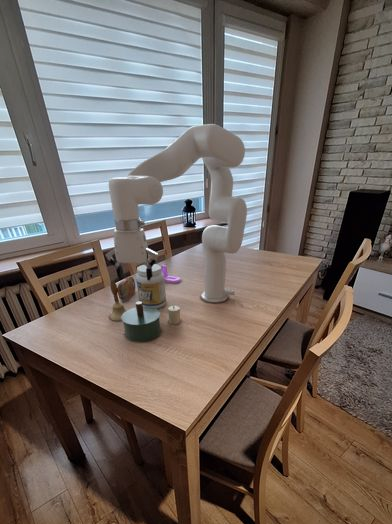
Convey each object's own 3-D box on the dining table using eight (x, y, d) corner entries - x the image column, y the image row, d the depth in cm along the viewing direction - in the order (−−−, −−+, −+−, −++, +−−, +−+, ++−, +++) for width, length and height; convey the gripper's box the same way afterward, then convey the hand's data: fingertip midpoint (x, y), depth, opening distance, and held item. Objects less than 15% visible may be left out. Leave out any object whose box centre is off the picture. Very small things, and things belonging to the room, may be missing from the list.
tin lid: (158, 307, 109) (157, 293, 105) (162, 324, 97) (160, 309, 94) (122, 311, 106) (119, 296, 103) (121, 329, 95) (117, 313, 92)
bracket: (156, 280, 151) (155, 267, 147) (162, 276, 155) (160, 264, 151) (176, 283, 146) (175, 270, 142) (182, 280, 150) (181, 267, 146)
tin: (124, 303, 127) (121, 286, 122) (118, 303, 128) (114, 285, 123) (136, 290, 139) (134, 274, 134) (131, 290, 140) (128, 274, 135)
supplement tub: (134, 307, 123) (128, 270, 113) (147, 297, 132) (143, 262, 123) (159, 311, 120) (155, 273, 110) (170, 300, 129) (167, 264, 119)
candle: (180, 318, 114) (180, 303, 110) (179, 324, 110) (178, 309, 106) (169, 318, 114) (168, 303, 110) (168, 324, 110) (166, 309, 107)
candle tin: (159, 322, 112) (157, 306, 108) (162, 339, 101) (160, 322, 97) (126, 326, 110) (123, 310, 106) (125, 344, 99) (122, 327, 95)
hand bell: (120, 322, 112) (112, 285, 103) (105, 317, 116) (97, 281, 107) (134, 314, 118) (128, 278, 109) (120, 310, 122) (113, 275, 112)
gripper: (157, 222, 87) (162, 275, 97) (104, 222, 88) (114, 275, 98) (153, 227, 81) (158, 283, 90) (95, 227, 82) (107, 282, 91)
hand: (135, 278), depth 94 cm, fingers open, 9 cm apart
